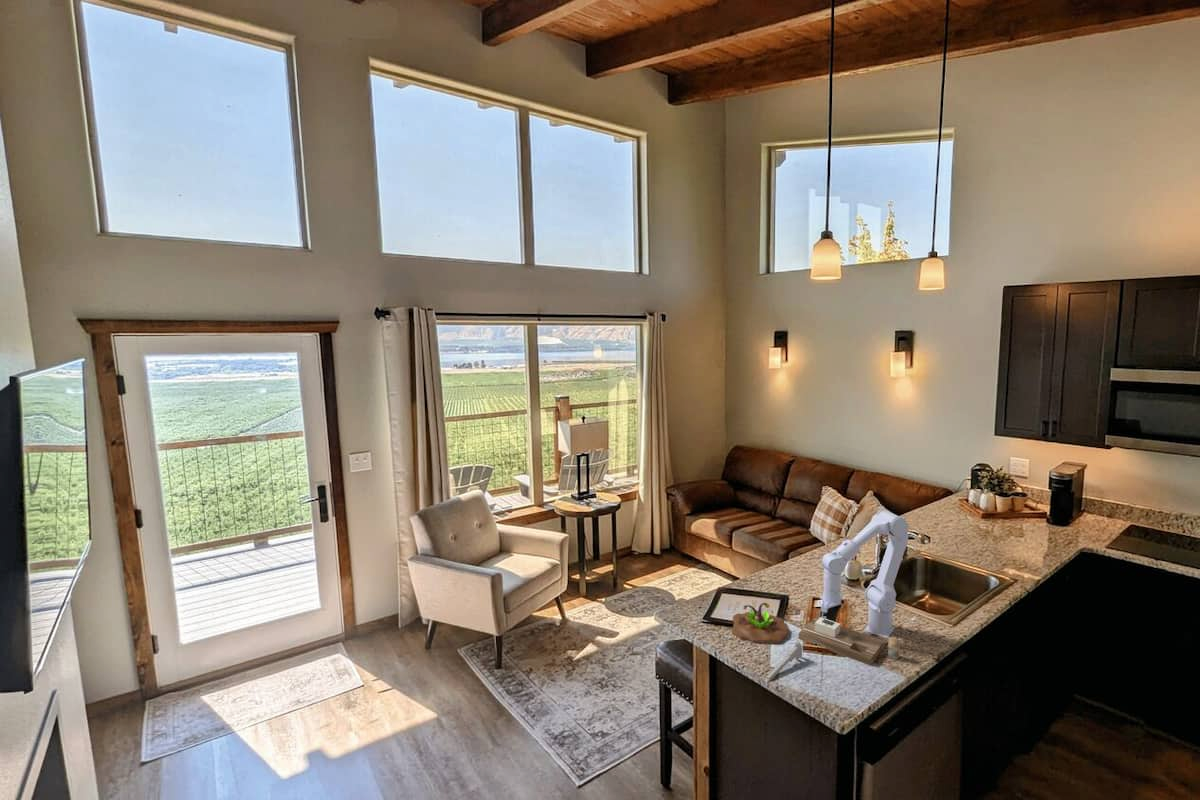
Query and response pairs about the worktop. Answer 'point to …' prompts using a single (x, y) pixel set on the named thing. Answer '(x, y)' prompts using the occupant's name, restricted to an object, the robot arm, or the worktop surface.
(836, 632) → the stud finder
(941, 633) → the worktop surface
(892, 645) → the peg
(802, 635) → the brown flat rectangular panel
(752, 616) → the plant
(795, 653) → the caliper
